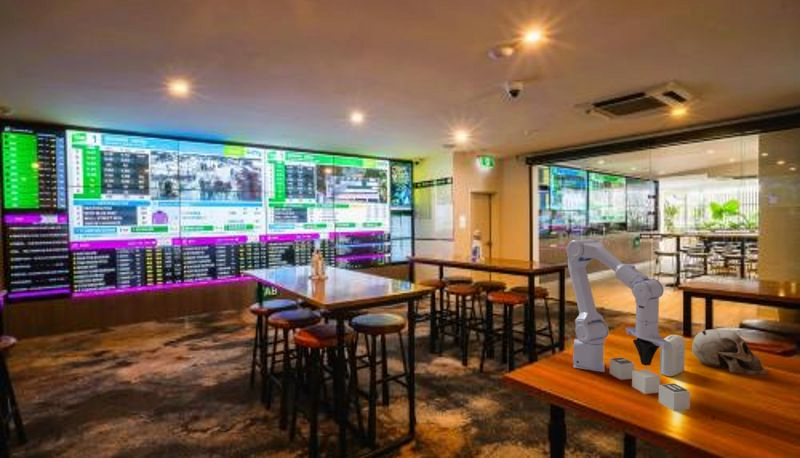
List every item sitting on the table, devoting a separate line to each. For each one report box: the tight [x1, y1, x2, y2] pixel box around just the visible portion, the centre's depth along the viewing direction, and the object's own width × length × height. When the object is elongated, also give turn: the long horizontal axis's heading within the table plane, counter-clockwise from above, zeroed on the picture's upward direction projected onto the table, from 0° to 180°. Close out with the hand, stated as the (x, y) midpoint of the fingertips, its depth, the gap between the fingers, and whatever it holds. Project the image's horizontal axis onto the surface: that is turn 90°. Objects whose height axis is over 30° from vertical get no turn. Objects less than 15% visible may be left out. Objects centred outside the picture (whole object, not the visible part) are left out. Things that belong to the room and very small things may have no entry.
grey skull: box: [691, 329, 769, 376], centre depth 136 cm, size 16×17×13 cm
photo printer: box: [659, 334, 686, 377], centre depth 132 cm, size 10×4×12 cm, turn 123°
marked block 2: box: [658, 383, 691, 412], centre depth 110 cm, size 5×5×5 cm
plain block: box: [631, 369, 661, 395], centre depth 120 cm, size 5×5×5 cm
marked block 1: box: [609, 357, 635, 380], centre depth 130 cm, size 5×5×5 cm
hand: (645, 364), depth 120 cm, fingers closed
